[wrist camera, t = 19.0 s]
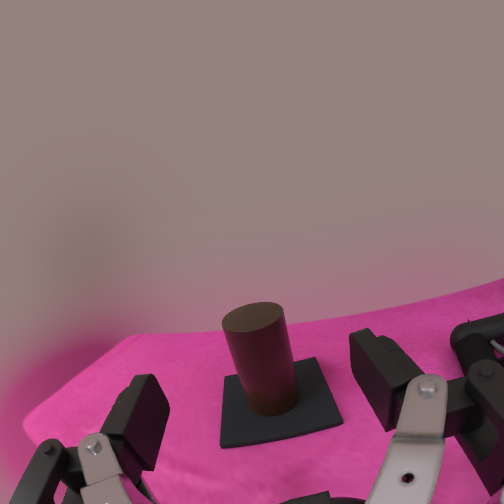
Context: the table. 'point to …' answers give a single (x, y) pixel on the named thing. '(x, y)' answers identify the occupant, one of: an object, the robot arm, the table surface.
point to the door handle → (478, 341)
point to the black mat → (282, 426)
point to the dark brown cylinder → (263, 357)
